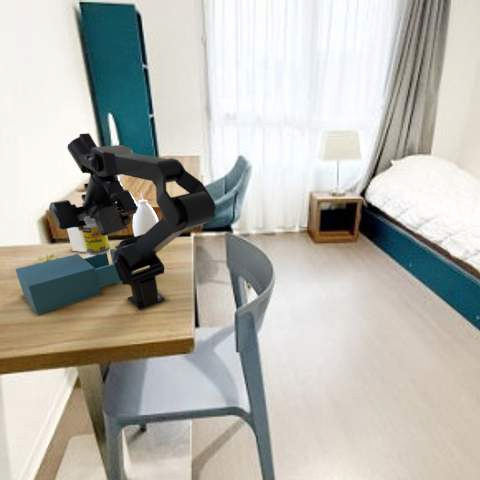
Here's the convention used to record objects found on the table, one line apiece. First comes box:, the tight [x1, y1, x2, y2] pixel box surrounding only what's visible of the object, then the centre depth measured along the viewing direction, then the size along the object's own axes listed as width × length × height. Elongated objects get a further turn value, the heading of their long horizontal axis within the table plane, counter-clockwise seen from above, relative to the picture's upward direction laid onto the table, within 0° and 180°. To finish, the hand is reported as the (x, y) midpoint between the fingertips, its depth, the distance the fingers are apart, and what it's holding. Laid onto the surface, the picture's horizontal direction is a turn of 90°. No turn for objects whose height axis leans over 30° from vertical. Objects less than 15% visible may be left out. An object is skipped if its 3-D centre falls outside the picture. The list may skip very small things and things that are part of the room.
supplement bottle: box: [82, 216, 111, 256], centre depth 93 cm, size 6×6×10 cm
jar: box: [66, 227, 87, 253], centre depth 113 cm, size 9×8×12 cm
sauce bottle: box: [132, 191, 159, 237], centre depth 112 cm, size 8×8×18 cm
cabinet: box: [15, 253, 101, 316], centre depth 86 cm, size 14×12×7 cm
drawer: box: [83, 248, 134, 289], centre depth 94 cm, size 17×10×5 cm, turn 134°
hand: (91, 226), depth 93 cm, fingers closed on supplement bottle, 5 cm apart
